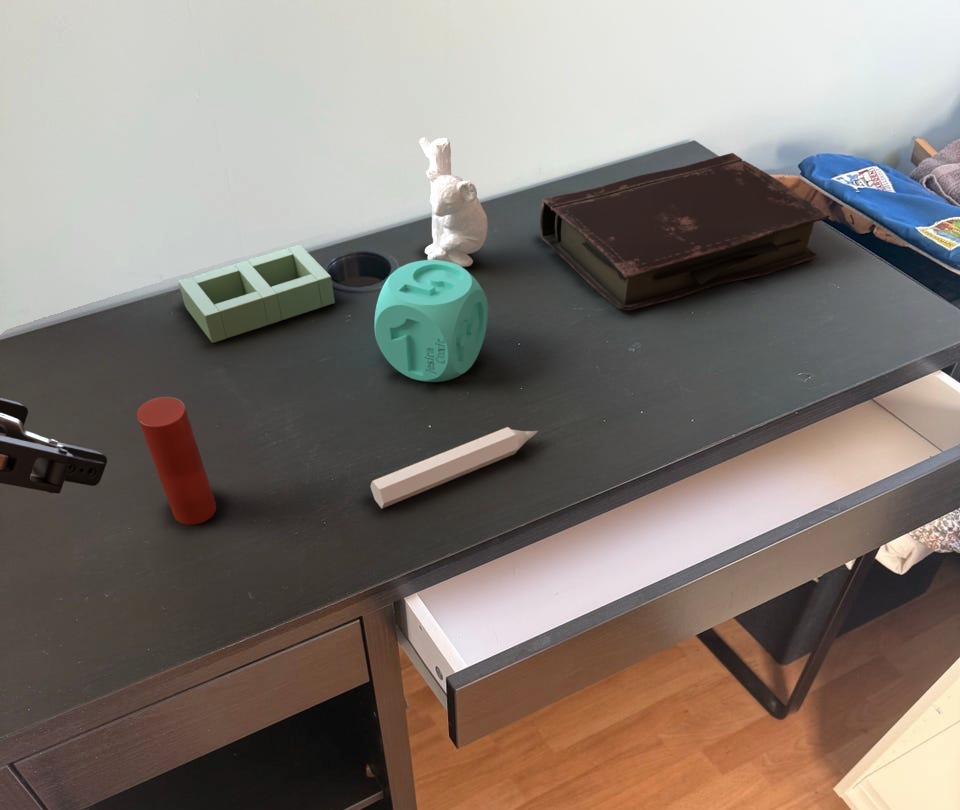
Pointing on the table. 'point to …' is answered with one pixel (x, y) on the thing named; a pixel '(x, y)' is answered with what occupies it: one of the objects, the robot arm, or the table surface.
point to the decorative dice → (431, 320)
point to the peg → (177, 459)
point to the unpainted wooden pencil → (447, 466)
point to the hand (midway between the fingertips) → (59, 444)
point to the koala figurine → (452, 209)
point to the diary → (680, 230)
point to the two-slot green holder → (256, 292)
